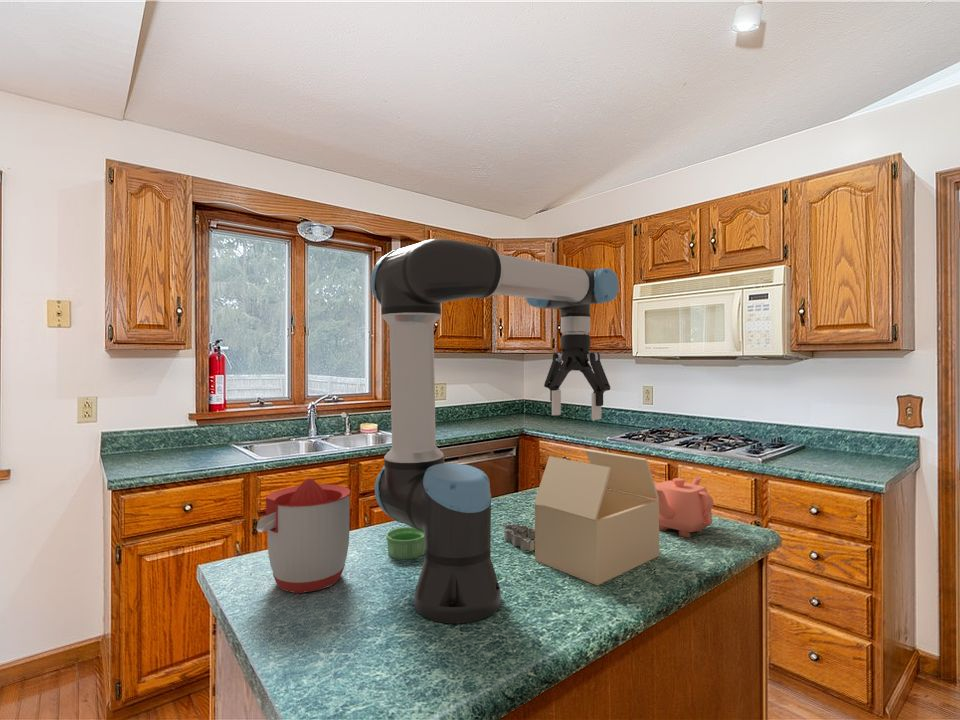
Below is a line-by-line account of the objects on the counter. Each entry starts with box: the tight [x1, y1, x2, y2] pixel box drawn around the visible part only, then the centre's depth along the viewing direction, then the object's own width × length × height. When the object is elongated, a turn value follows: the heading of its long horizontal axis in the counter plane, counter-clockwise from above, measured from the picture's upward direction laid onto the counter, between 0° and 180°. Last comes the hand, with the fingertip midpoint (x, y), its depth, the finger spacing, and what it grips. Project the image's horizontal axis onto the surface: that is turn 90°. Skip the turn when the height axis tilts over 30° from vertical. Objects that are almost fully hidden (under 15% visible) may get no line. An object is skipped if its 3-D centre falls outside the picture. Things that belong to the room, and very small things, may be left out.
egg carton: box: [502, 523, 535, 552], centre depth 120 cm, size 11×8×4 cm
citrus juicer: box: [256, 477, 351, 594], centre depth 99 cm, size 16×17×20 cm
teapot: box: [649, 476, 714, 538], centre depth 129 cm, size 15×17×13 cm
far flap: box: [585, 448, 659, 500], centre depth 116 cm, size 10×16×1 cm
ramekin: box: [385, 526, 425, 560], centre depth 114 cm, size 9×9×4 cm
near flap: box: [533, 455, 611, 520], centre depth 104 cm, size 10×16×1 cm
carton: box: [534, 488, 660, 586], centre depth 110 cm, size 22×16×12 cm
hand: (575, 417), depth 132 cm, fingers open, 13 cm apart
